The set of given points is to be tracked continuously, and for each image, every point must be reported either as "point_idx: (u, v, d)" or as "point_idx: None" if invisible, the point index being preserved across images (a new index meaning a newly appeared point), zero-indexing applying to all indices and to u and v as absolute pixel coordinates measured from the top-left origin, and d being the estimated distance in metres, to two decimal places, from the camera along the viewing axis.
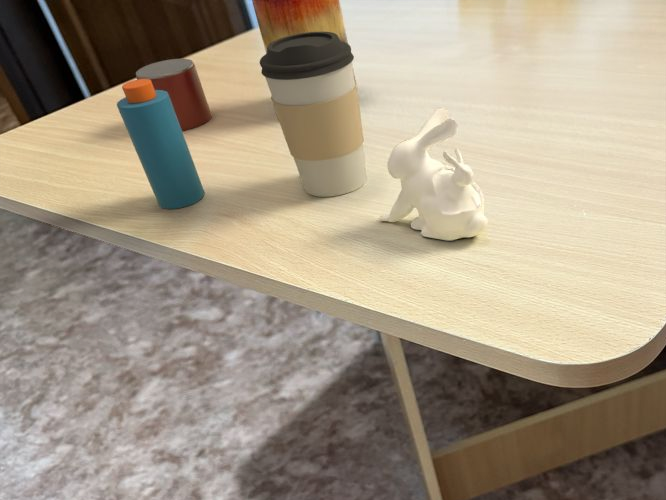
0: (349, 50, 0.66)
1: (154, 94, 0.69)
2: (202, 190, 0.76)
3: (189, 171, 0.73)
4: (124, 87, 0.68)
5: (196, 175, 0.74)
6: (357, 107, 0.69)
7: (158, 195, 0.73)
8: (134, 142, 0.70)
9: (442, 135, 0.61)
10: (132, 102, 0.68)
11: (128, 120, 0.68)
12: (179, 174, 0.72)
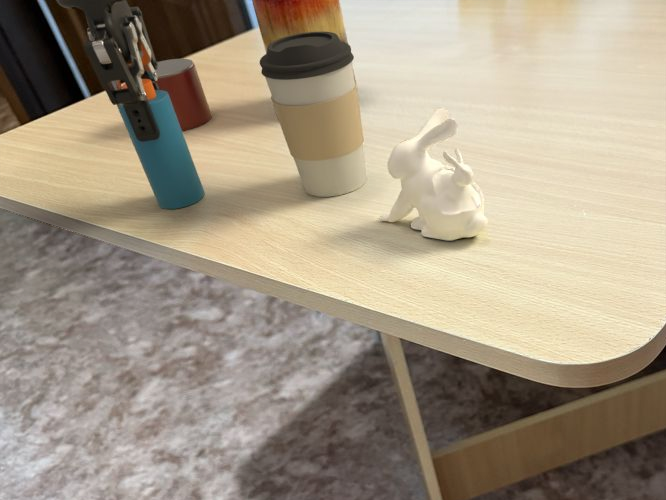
0: (349, 50, 0.66)
1: (154, 94, 0.69)
2: (202, 190, 0.76)
3: (189, 171, 0.73)
4: (124, 87, 0.68)
5: (196, 175, 0.74)
6: (357, 107, 0.69)
7: (158, 195, 0.73)
8: (134, 142, 0.70)
9: (442, 135, 0.61)
10: None
11: (128, 120, 0.68)
12: (179, 174, 0.72)
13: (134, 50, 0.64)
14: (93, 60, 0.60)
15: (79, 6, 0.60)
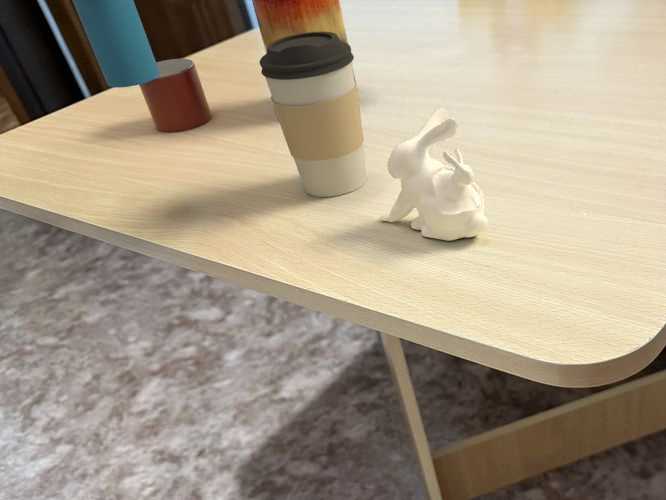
0: (349, 50, 0.66)
1: None
2: (156, 69, 0.68)
3: (140, 43, 0.65)
4: None
5: (149, 50, 0.66)
6: (357, 107, 0.69)
7: (106, 71, 0.65)
8: (76, 3, 0.62)
9: (442, 135, 0.61)
10: None
11: None
12: (129, 45, 0.64)
13: None
14: None
15: None
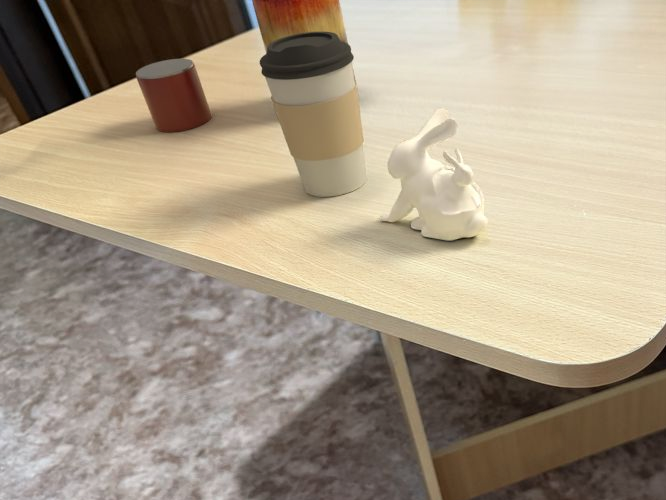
0: (349, 50, 0.66)
1: None
2: None
3: None
4: None
5: None
6: (357, 107, 0.69)
7: None
8: None
9: (442, 135, 0.61)
10: None
11: None
12: None
13: None
14: None
15: None
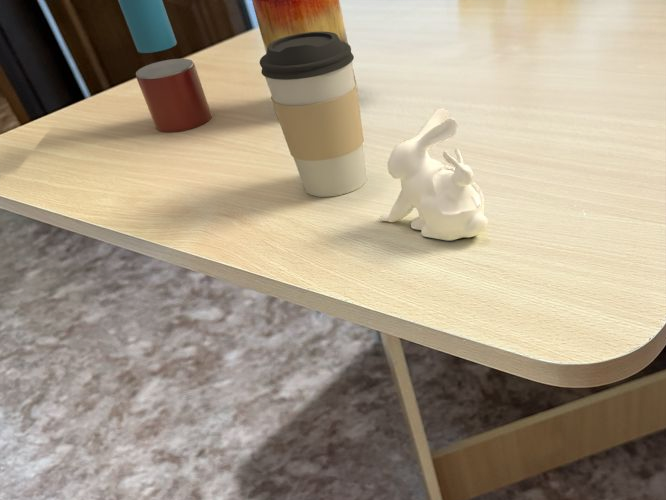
0: (349, 50, 0.66)
1: None
2: (174, 39, 0.89)
3: (163, 19, 0.87)
4: None
5: (169, 24, 0.88)
6: (357, 107, 0.69)
7: (137, 40, 0.87)
8: None
9: (442, 135, 0.61)
10: None
11: None
12: (154, 20, 0.86)
13: None
14: None
15: None
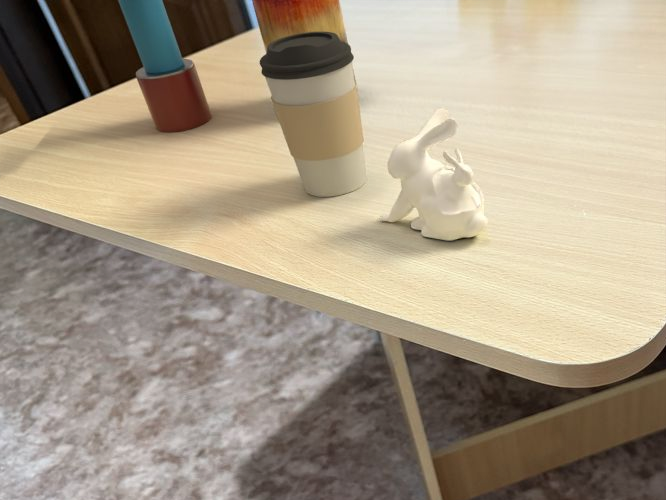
0: (349, 50, 0.66)
1: None
2: (181, 60, 0.91)
3: (170, 40, 0.88)
4: None
5: (176, 45, 0.90)
6: (357, 107, 0.69)
7: (145, 61, 0.89)
8: (124, 12, 0.85)
9: (442, 135, 0.61)
10: None
11: None
12: (162, 41, 0.88)
13: None
14: None
15: None
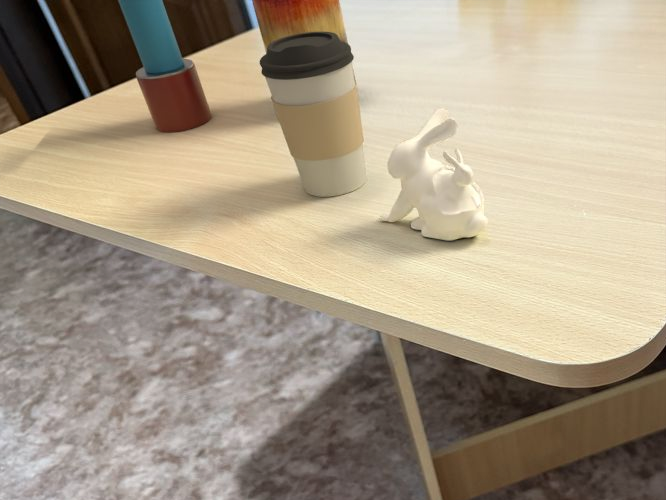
0: (349, 50, 0.66)
1: None
2: (181, 60, 0.91)
3: (170, 40, 0.88)
4: None
5: (176, 45, 0.90)
6: (357, 107, 0.69)
7: (145, 61, 0.89)
8: (124, 12, 0.85)
9: (442, 135, 0.61)
10: None
11: None
12: (162, 41, 0.88)
13: None
14: None
15: None
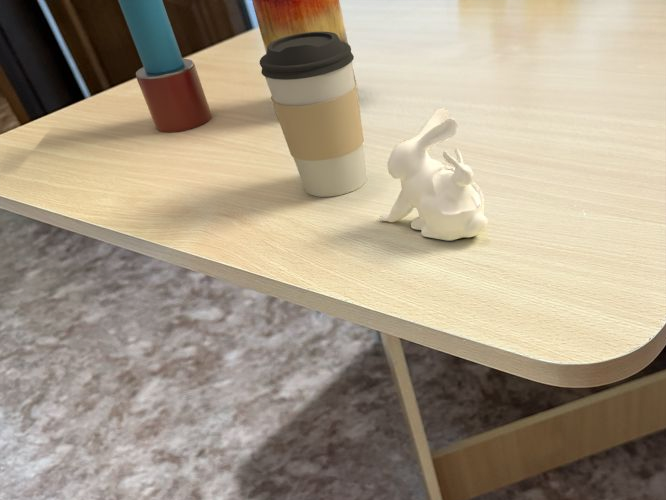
0: (349, 50, 0.66)
1: None
2: (181, 60, 0.91)
3: (170, 40, 0.88)
4: None
5: (176, 45, 0.90)
6: (357, 107, 0.69)
7: (145, 61, 0.89)
8: (124, 12, 0.85)
9: (442, 135, 0.61)
10: None
11: None
12: (162, 41, 0.88)
13: None
14: None
15: None
